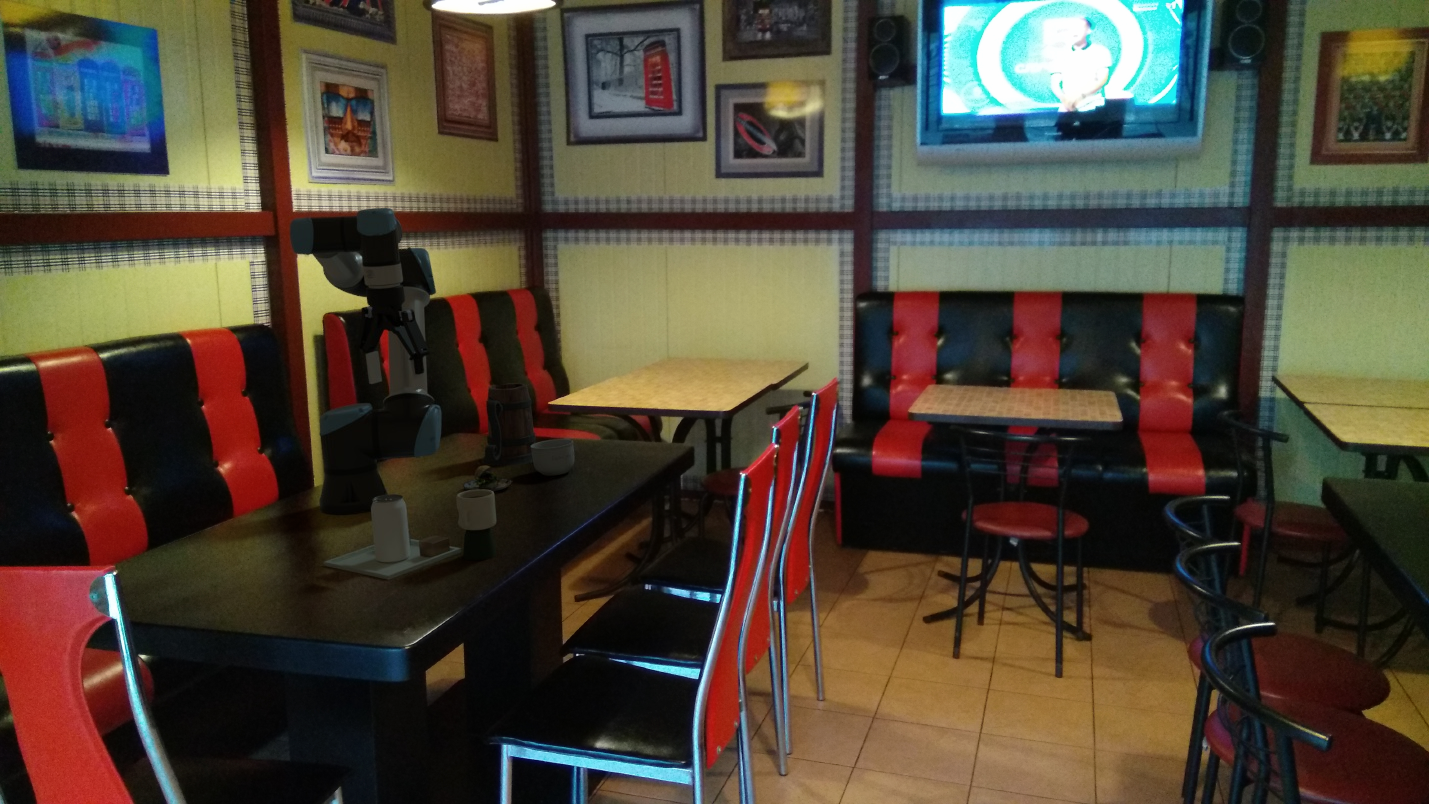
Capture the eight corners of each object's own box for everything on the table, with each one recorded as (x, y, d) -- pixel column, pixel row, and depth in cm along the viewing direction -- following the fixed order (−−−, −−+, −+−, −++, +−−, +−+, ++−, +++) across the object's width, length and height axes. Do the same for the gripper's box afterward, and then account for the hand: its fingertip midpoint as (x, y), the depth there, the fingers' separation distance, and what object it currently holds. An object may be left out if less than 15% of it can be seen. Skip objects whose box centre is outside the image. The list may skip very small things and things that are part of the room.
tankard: (496, 451, 309) (491, 380, 306) (553, 451, 306) (548, 380, 302) (460, 471, 287) (453, 395, 283) (521, 471, 283) (515, 395, 280)
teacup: (556, 480, 273) (554, 448, 272) (523, 475, 279) (521, 445, 277) (591, 467, 285) (589, 437, 283) (559, 464, 290) (557, 434, 289)
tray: (324, 569, 210) (323, 561, 210) (398, 543, 225) (397, 536, 224) (388, 583, 200) (388, 575, 200) (461, 555, 215) (461, 548, 215)
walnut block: (420, 555, 213) (418, 540, 213) (435, 550, 217) (434, 535, 216) (434, 558, 211) (433, 543, 211) (450, 552, 214) (448, 538, 214)
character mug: (476, 549, 218) (471, 486, 216) (509, 551, 217) (504, 487, 214) (449, 567, 208) (444, 500, 206) (484, 569, 206) (479, 502, 204)
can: (400, 564, 208) (395, 502, 206) (369, 563, 210) (363, 502, 208) (416, 553, 215) (411, 493, 213) (386, 552, 216) (380, 493, 214)
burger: (478, 499, 258) (475, 468, 257) (454, 491, 267) (451, 461, 266) (522, 489, 266) (520, 459, 265) (497, 481, 275) (495, 452, 273)
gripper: (330, 284, 230) (344, 383, 235) (410, 291, 216) (422, 396, 221) (360, 279, 236) (372, 375, 241) (439, 285, 222) (451, 387, 227)
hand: (396, 385), depth 231 cm, fingers open, 13 cm apart
